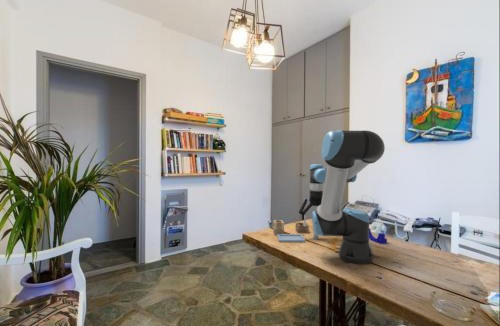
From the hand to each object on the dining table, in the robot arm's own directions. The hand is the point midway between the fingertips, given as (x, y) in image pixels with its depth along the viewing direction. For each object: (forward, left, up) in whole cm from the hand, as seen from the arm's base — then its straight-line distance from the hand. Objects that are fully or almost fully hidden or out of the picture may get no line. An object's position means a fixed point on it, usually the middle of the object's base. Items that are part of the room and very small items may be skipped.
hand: (315, 225), depth 143 cm
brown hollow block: (+15, +5, -8) cm, 17 cm away
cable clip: (-3, -34, -8) cm, 35 cm away
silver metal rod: (0, 0, -8) cm, 8 cm away
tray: (0, +15, -8) cm, 17 cm away
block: (+10, +21, -8) cm, 24 cm away
